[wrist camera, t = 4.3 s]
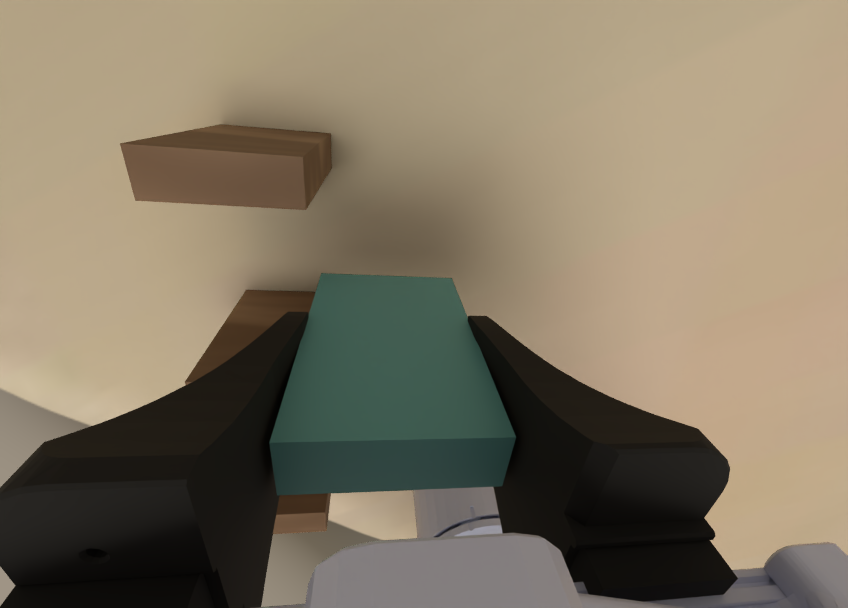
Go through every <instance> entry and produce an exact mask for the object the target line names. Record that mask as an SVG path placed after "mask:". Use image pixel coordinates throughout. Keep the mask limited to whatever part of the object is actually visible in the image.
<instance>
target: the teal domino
mask: <svg viewBox="0 0 848 608" xmlns="http://www.w3.org/2000/svg"><path fill="white" fill-rule="evenodd" d="M515 440H516V436H515V433H514V431H513V428H512V426H511V423H510V421H509V418H508V416H507V413H506V411H505V409H504V406H503V404H502V401H501V399H500V396H499V394H498V391H497V389H496V386H495V384H494V381H493V379H492V377H491V374H490V372H489V369H488V367H487V364H486V362H485V359H484V357H483V354H482V352H481V349H480V347H479V345H478V344H477V342H476V340H475V338H474V336H473V333H472V331H471V328H470V326H469V323H468V317H467V315H466V312H465V310H464V308H463V305H462V303H461V300H460V298H459V295H458V293H457V290H456V288H455V285H454V283H453V280H452V278H433V277H406V276H379V275H352V274H326V273H321V276H320V280H319V283H318V286H317V289H316V293H315V296H314V299H313V302H312V306H311V309H310V312H309V318H308V321H307V325H306V328H305V331H304V335H303V337H302V339H301V341H300V345H299V348H298V351H297V354H296V358H295V361H294V364H293V367H292V371H291V374H290V377H289V380H288V384H287V387H286V390H285V393H284V397H283V400H282V403H281V406H280V410H279V413H278V416H277V419H276V423H275V426H274V429H273V432H272V436H271V439H270V442H269V444H270V451H271V458H272V465H273V472H274V478H275V485H276V492H277V495H301V494H326V493H351V492H375V491H400V490H425V489H450V488H474V487H499V486H502V485H503V481H504V478H505V474H506V471H507V467H508V464H509V460H510V457H511V454H512V450H513V447H514V443H515Z"/></svg>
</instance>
